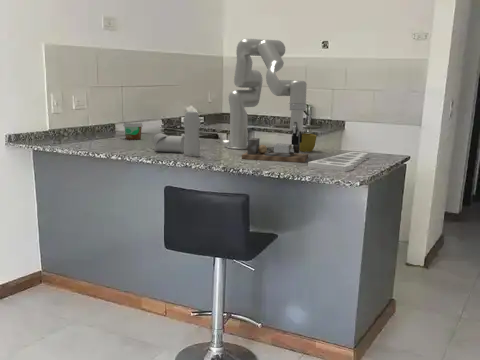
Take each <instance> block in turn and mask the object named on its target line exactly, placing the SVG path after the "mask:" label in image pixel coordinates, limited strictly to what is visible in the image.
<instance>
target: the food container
mask: <svg viewBox="0 0 480 360" xmlns="http://www.w3.org/2000/svg"><path fill="white" fill-rule="evenodd" d="M122 127H123V128H124V134H125V136H124V137H125V140H127V141H128V140H129V141H138V140H142V129H143V128H142V127H143V123H141V122H140V123H139V122H138V123H132V122H131V123H127V122H123V125H122Z"/></svg>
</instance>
